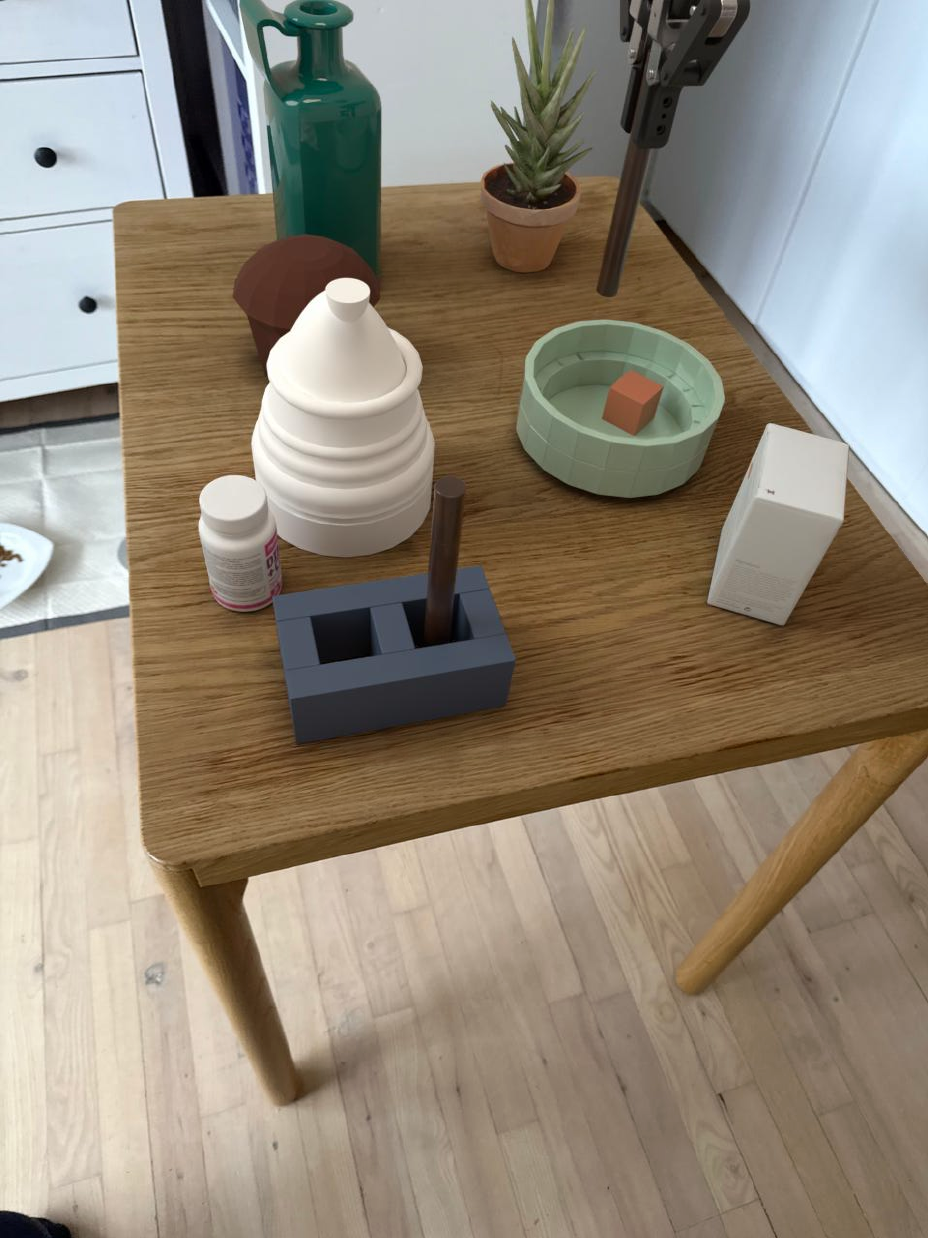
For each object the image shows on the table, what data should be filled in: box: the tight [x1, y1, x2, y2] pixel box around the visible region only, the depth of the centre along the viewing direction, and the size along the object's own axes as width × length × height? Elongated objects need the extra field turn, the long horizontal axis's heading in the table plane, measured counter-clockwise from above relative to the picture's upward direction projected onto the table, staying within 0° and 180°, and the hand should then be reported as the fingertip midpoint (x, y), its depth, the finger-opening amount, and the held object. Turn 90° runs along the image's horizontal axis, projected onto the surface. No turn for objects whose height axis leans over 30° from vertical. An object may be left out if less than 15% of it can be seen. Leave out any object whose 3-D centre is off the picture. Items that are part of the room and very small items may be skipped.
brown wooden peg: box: [422, 475, 467, 648], centre depth 51 cm, size 2×2×16 cm
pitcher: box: [238, 0, 383, 280], centre depth 76 cm, size 10×8×22 cm
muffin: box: [232, 234, 381, 377], centre depth 73 cm, size 12×11×10 cm
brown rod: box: [596, 48, 671, 298], centre depth 60 cm, size 2×2×16 cm
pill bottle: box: [198, 474, 283, 613], centre depth 57 cm, size 5×5×8 cm
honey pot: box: [250, 278, 436, 559], centre depth 60 cm, size 13×13×18 cm
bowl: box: [515, 318, 726, 499], centre depth 71 cm, size 15×15×6 cm
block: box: [602, 370, 663, 436], centre depth 72 cm, size 3×3×3 cm
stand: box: [272, 565, 517, 745], centre depth 55 cm, size 8×13×5 cm, turn 105°
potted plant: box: [480, 0, 597, 274], centre depth 80 cm, size 10×10×25 cm
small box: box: [706, 422, 851, 626], centre depth 61 cm, size 8×6×10 cm
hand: (642, 136), depth 58 cm, fingers closed on brown rod, 1 cm apart
